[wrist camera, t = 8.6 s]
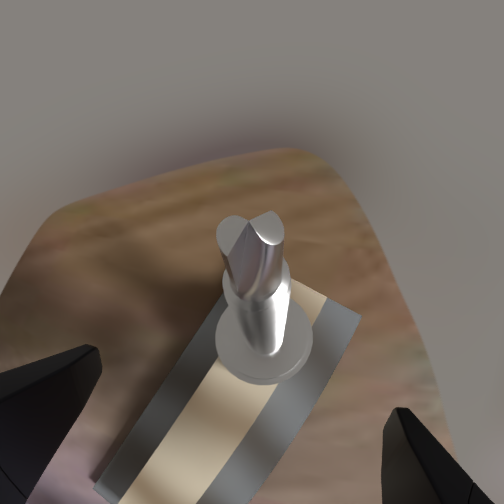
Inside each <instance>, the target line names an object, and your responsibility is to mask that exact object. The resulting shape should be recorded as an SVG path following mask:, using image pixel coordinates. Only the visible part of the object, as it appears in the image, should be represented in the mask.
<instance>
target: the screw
mask: <svg viewBox="0 0 504 504" xmlns="http://www.w3.org/2000/svg"><path fill="white" fill-rule="evenodd" d="M216 238H217V242H218V246H219V249H220V252H221V255H222V258H223V261H224V264H225V267H226V269H225V271H224V274H223V280H222V283H223V289H224V295H225V299H226V301H227V303H228V305H229V306H228V307H227V308H226V310H225V311H224V313H223V314H222V315H221V317H220V320H219V322H218V324H217V329H216V334H215V342H216V348H217V352H218V355H219V357H220V359H221V361H222V363H223V365H224V366H225V367H226V368H227V370H228V371H229V372H230V373H232V374H233V375H234V376H236V377H237V378H238V379H240V380H242V381H245V382H247V383H250V384H254V385H273V384H278V383H281V382H283V381H285V380H287V379H289V378H291V377H292V376H293V375H295V374H296V373H297V372H298V371H299V370H300V369H301V368H302V367H303V365H304V364H305V363H306V361H307V359H308V357H309V355H310V352H311V348H312V344H313V332H312V327H311V323H310V321H309V319H308V316H307V314H306V313H305V312H304V310H303V309H302V308H301V306H300V305H299V304H297V303H296V302H295V301H294V300H293V299H291V298H290V293H291V277H290V272H289V267H288V265H287V262H286V261H285V259H284V258H283V249H284V227H283V224H282V221H281V220H280V218H279V217H278V215H277V214H276V213H274V212H273V211H272V210H271V211H269V212H266V213H264V214H262V215H260V216H258V217H256V218H253V219H251V220H249V221H248V220H246V219H244V218H242V217H240V216H235V215H234V216H229V217H227V218H225V219H224V220H222V221H221V223H220V224H219V225H218V228H217V234H216Z"/></svg>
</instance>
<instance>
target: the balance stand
mask: <svg viewBox="0 0 504 504" xmlns="http://www.w3.org/2000/svg"><path fill="white" fill-rule="evenodd" d="M290 298H291V299H293V300H294V301H295V302H296V303H297V304H299V305H300V306H301V308H302V309H303V310H304V312H305V313H306V314H307V316H308V319H309V321H310V323H311V327H312V332H313V344H312V348H311V352H310V355H309V357H308V359H307V361H306V363H305V364H304V365H303V367H302V368H301V369H300V370H299V371H298V372H297V373H296V374H295V375H293V376H292V377H291V378H289V379H287V380H285V381H283V382H281V383H278V384H273V385H254V384H250V383H247V382H245V381H242V380H240V379H238V378H237V377H236V376H234V375H233V374H232V373H230V372H229V371H228V370H227V368H226V367H225V366H224V365H223V363H222V361H221V359H220V357H219V355H218V352H217V348H216V342H215V334H216V329H217V324H218V322H219V320H220V317H221V315H222V314H223V313H224V311H225V310H226V308H227V307H228V306H229V305H228V303H227V301H226V299H225V295H224V292H223V293H222V295H221V296H220V298H219V299H218V301H217V302H216V304H215V305H214V307H213V308H212V310H211V311H210V313H209V314H208V316H207V317H206V319H205V320H204V322H203V323H202V325H201V326H200V328H199V329H198V331H197V332H196V334H195V335H194V337H193V338H192V340H191V341H190V343H189V344H188V346H187V347H186V349H185V350H184V352H183V353H182V355H181V356H180V358H179V359H178V361H177V362H176V364H175V365H174V367H173V368H172V370H171V371H170V373H169V374H168V376H167V377H166V379H165V380H164V382H163V383H162V385H161V386H160V388H159V389H158V391H157V392H156V394H155V395H154V397H153V398H152V400H151V401H150V403H149V404H148V406H147V407H146V409H145V410H144V412H143V413H142V415H141V416H140V418H139V419H138V421H137V422H136V424H135V425H134V427H133V428H132V430H131V431H130V433H129V434H128V436H127V437H126V439H125V440H124V442H123V443H122V445H121V446H120V448H119V449H118V451H117V453H116V454H115V456H114V457H113V459H112V460H111V462H110V463H109V465H108V466H107V468H106V469H105V471H104V472H103V474H102V475H101V477H100V478H99V480H98V481H97V483H96V484H95V486H94V487H93V489H94V490H95V491H96V492H97V493H98V494H100V495H101V496H102V497H103V498H104V499H106V500H107V501H108V502H109V503H110V504H248V503H249V502H250V500H251V499H252V498H253V496H254V495H255V494H256V492H257V491H258V490H259V488H260V487H261V485H262V484H263V483H264V481H265V480H266V479H267V477H268V476H269V474H270V473H271V472H272V470H273V469H274V467H275V466H276V464H277V463H278V461H279V460H280V459H281V457H282V456H283V454H284V453H285V451H286V450H287V448H288V447H289V445H290V444H291V442H292V441H293V439H294V437H295V436H296V434H297V433H298V431H299V430H300V428H301V426H302V425H303V423H304V422H305V420H306V418H307V417H308V415H309V413H310V412H311V410H312V408H313V407H314V405H315V403H316V402H317V400H318V398H319V397H320V395H321V393H322V391H323V390H324V388H325V386H326V384H327V383H328V381H329V379H330V377H331V375H332V374H333V372H334V370H335V368H336V366H337V364H338V363H339V361H340V359H341V357H342V355H343V353H344V351H345V349H346V347H347V345H348V343H349V342H350V340H351V338H352V336H353V334H354V332H355V330H356V328H357V326H358V323H359V321H360V319H361V317H362V316H361V315H359V314H357V313H356V312H354V311H352V310H350V309H348V308H346V307H344V306H342V305H340V304H338V303H336V302H335V301H333V300H331V299H329V298H327V297H326V296H324V295H322V294H320V293H318V292H316V291H314V290H312V289H311V288H309V287H307V286H305V285H303V284H301V283H299V282H297V281H295V280H294V279H292V278H291V293H290Z"/></svg>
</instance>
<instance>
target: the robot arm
mask: <svg viewBox="0 0 504 504" xmlns="http://www.w3.org/2000/svg"><path fill="white" fill-rule="evenodd" d="M101 373H102V364H101V359H100V354H99V350H98V348H96V347H94V346H91V345H88V344H85V345H82V346H79V347H76V348H74V349H71V350H68V351H65V352H62V353H59V354H56V355H53V356H50V357H47V358H44V359H41V360H38V361H35V362H32V363H29V364H26V365H23V366H20V367H17V368H14V369H11V370H8V371H5V372H2V373H0V504H25V503H26V501H27V499H28V497H29V496H30V494H31V492H32V490H33V489H34V487H35V485H36V484H37V482H38V480H39V479H40V477H41V475H42V474H43V472H44V470H45V469H46V467H47V465H48V464H49V462H50V461H51V459H52V457H53V456H54V454H55V453H56V451H57V449H58V448H59V446H60V445H61V443H62V441H63V440H64V438H65V437H66V435H67V434H68V432H69V430H70V429H71V427H72V426H73V424H74V423H75V421H76V420H77V418H78V417H79V415H80V413H81V412H82V410H83V408H84V407H85V405H86V403H87V401H88V399H89V397H90V395H91V393H92V391H93V389H94V387H95V385H96V383H97V381H98V379H99V377H100V375H101ZM381 484H382V504H494V503H493V502H492V501H491V500H490V499H489V498H488V497H487V496H486V494H485V493H484V492H483V491H482V490H481V489H480V488H479V487H478V486H477V484H476V483H473V480H472V479H471V478H470V477H469V475H468V474H467V473H466V472H465V471H464V470H463V469H462V468H461V466H460V465H459V464H458V463H457V462H456V461H455V460H454V459H453V457H452V456H451V455H450V454H449V453H448V452H447V451H446V450H445V448H444V447H443V446H442V445H441V444H440V443H439V442H438V441H437V439H436V438H435V437H434V436H433V435H432V434H431V433H430V432H429V430H428V429H427V428H426V427H425V426H424V425H423V424H422V423H421V422H420V420H419V419H418V418H417V417H416V416H415V415H414V414H413V413H412V411H411V410H410V409H408V408H403V407H396V408H394V409H393V411H392V413H391V415H390V417H389V418H388V420H387V422H386V424H385V426H384V429H383V448H382V468H381Z"/></svg>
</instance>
